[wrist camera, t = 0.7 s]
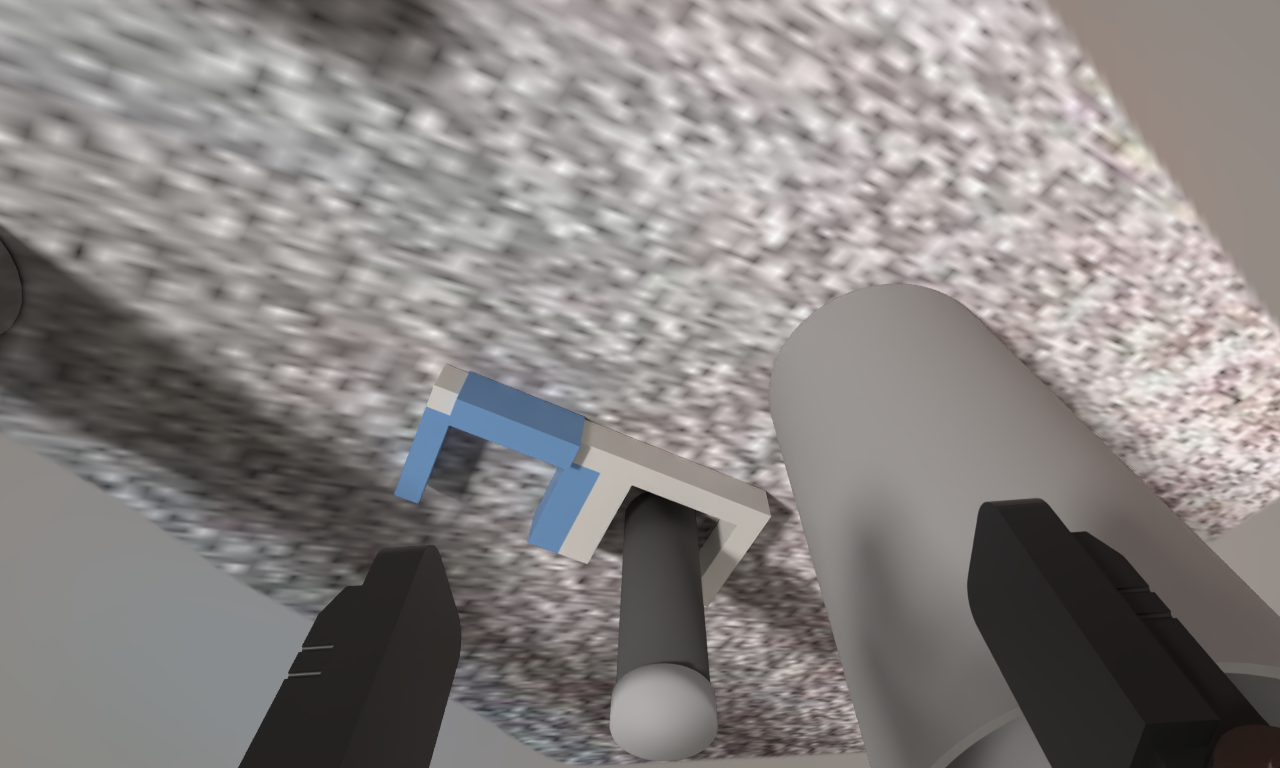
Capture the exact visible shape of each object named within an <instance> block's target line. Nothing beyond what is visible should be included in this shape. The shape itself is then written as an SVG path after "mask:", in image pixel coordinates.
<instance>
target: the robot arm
mask: <svg viewBox="0 0 1280 768" xmlns="http://www.w3.org/2000/svg"><path fill="white" fill-rule="evenodd" d="M21 304H22V286H21V282H20V278H19V274H18V270H17V268H16V266H15V264H14V262H13V260H12V258H11V256H10V254H9V252H8V251H7V249H6V248H5V246H4V245H3V243H2V242H1V240H0V335H1V334H2V333H3V332H5V331H6V330H7V329H9V328H10V327H11V326H12V324H13V323H14V321H15V320H16V318H17V317H18V315H19V311H20V308H21ZM967 594H968V601H969V606H970V610H971V613H972V616H973V619H974V621H975V623H976V626H977V628H978V629H979V631H980V633H981V635H982V637H983V639H984V641H985V643H986V645H987V646H988V648H989V650H990V652H991V654H992V656H993V658H994V660H995V662H996V663H997V665H998V667H999V669H1000V671H1001V673H1002V675H1003V677H1004V679H1005V680H1006V682H1007V684H1008V686H1009V688H1010V690H1011V692H1012V694H1013V696H1014V697H1015V699H1016V701H1017V703H1018V705H1019V707H1020V709H1021V711H1022V713H1023V714H1024V716H1025V718H1026V720H1027V722H1028V724H1029V726H1030V728H1031V730H1032V731H1033V733H1034V735H1035V737H1036V739H1037V741H1038V743H1039V745H1040V747H1041V748H1042V750H1043V752H1044V754H1045V756H1046V758H1047V760H1048V762H1049V764H1050V765H1051V767H1052V768H1280V728H1279V727H1274V726H1270V725H1269V724H1268V723H1267V722H1266V721H1265V720H1264V719H1263V718H1262V717H1261V715H1260V714H1259V713H1258V712H1257V711H1256V710H1255V708H1254V707H1253V706H1252V705H1251V704H1250V703H1249V701H1248V700H1247V699H1246V698H1245V697H1244V696H1243V694H1242V693H1241V692H1240V691H1239V690H1238V689H1237V687H1236V686H1235V685H1234V684H1233V683H1232V682H1231V680H1230V679H1229V678H1228V677H1227V676H1226V675H1225V673H1224V672H1223V671H1222V670H1221V669H1220V668H1219V666H1218V665H1217V664H1216V663H1215V662H1214V661H1213V659H1212V658H1211V657H1210V656H1209V655H1208V654H1207V652H1206V651H1205V650H1204V649H1203V648H1202V647H1201V645H1200V644H1199V643H1198V642H1197V641H1196V640H1195V638H1194V637H1193V636H1192V635H1191V634H1190V633H1189V631H1188V630H1187V629H1186V628H1185V627H1184V626H1183V624H1182V623H1181V622H1180V621H1179V620H1178V619H1177V618H1173V617H1172V615H1171V610H1170V609H1169V608H1168V607H1167V606H1166V605H1165V603H1164V602H1163V601H1162V600H1161V599H1160V598H1159V597H1158V595H1157V594H1156V593H1155V592H1151V591H1150V589H1149V585H1148V584H1147V583H1146V581H1145V580H1144V579H1143V578H1142V577H1141V576H1140V574H1139V573H1138V572H1137V571H1136V570H1135V569H1134V567H1133V566H1132V565H1131V564H1130V563H1129V562H1128V560H1127V559H1126V558H1125V557H1124V556H1123V555H1122V554H1120V553H1119V552H1117V551H1116V550H1114V549H1113V548H1111V547H1109V546H1108V545H1106V544H1105V543H1103V542H1102V541H1100V540H1099V539H1097V538H1096V537H1094V536H1093V535H1091V534H1090V533H1088V532H1087V531H1082V532H1070V531H1069V529H1068V528H1067V527H1066V526H1065V524H1064V523H1063V522H1062V521H1061V519H1060V518H1059V517H1058V516H1057V514H1056V513H1055V512H1054V511H1053V509H1052V508H1051V507H1050V506H1049V504H1048V503H1047V502H1045V501H1044V500H1043V499H1040V498H1029V499H1015V500H1002V501H989V502H984V503H983V504H982V505H981V506H980V508H979V511H978V516H977V522H976V528H975V535H974V541H973V547H972V553H971V559H970V565H969V572H968V578H967ZM460 649H461V626H460V620H459V615H458V612H457V609H456V606H455V602H454V599H453V596H452V592H451V589H450V586H449V583H448V579H447V576H446V573H445V569H444V566H443V563H442V560H441V556H440V554H439V551H438V549H437V548H436V547H435V546H434V545H423V546H410V547H396V548H385V549H382V550H381V551H380V552H379V553H378V554H377V556H376V558H375V560H374V562H373V564H372V566H371V568H370V570H369V572H368V574H367V577H366V579H365V581H364V583H363V585H361V586H347V587H345V588H344V589H343V590H342V591H341V592H340V593H339V594H338V595H337V596H336V597H335V598H334V599H333V600H332V601H331V602H330V603H329V604H328V605H327V606H326V607H325V608H324V610H323V611H322V612H321V613H320V614H319V615H318V616H317V618H316V620H315V622H314V624H313V626H312V628H311V630H310V632H309V634H308V636H307V637H306V639H305V641H304V643H303V645H302V652H299V653H298V655H297V657H296V659H295V660H294V662H293V664H292V666H291V668H290V670H289V672H288V673H289V676H288V679H284V681H283V683H282V686H281V687H280V689H279V691H278V693H277V695H276V697H275V699H274V701H273V702H272V704H271V706H270V708H269V710H268V712H267V714H266V716H265V718H264V719H263V721H262V723H261V725H260V727H259V729H258V731H257V733H256V735H255V737H254V739H253V741H252V742H251V744H250V746H249V748H248V750H247V752H246V754H245V756H244V758H243V760H242V762H241V763H240V765H239V767H238V768H429V766H430V762H431V759H432V755H433V751H434V748H435V744H436V740H437V737H438V733H439V730H440V726H441V722H442V719H443V715H444V712H445V708H446V704H447V701H448V697H449V694H450V690H451V686H452V683H453V679H454V676H455V672H456V668H457V665H458V661H459V656H460Z"/></svg>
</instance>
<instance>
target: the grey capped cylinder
mask: <svg viewBox="0 0 1280 768" xmlns="http://www.w3.org/2000/svg"><path fill="white" fill-rule="evenodd" d="M610 731H611V735H612V737H613V739H614V740H615V742H616V743H617V744H618V745H619V746H620V747H621V748H623V749H624V750H625V751H627V752H629V753H630V754H632V755H635V756H637V757H640V758H644V759H647V760H654V761H675V760H681V759H685V758H688V757H691V756H694V755H696V754H698V753H700V752H701V751H703V750H704V749H706V748H707V747H708V746H709V745H710V744H711V743H712V742H713V740H714V739H715V737H716V734H717V731H718V720H717V708H716V697H715V692H714V689H713V687H712V685H711V683H710V676H709V664H708V652H707V640H706V628H705V616H704V604H703V592H702V580H701V569H700V557H699V545H698V533H697V521H696V512H695V509H693V508H690V507H688V506H685V505H682V504H680V503H677V502H674V501H672V500H669V499H667V498H664V497H661V496H659V495H656V494H654V493H651V492H646V493H643V494H641V495H639V496H638V497H636V498H635V499H634V500H633V501H632V502H631V503H630V504H629V506H628V508H627V510H626V514H625V528H624V547H623V566H622V585H621V604H620V623H619V642H618V661H617V680H616V684H615V686H614V688H613V691H612V696H611V713H610Z"/></svg>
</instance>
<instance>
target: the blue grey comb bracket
mask: <svg viewBox="0 0 1280 768" xmlns="http://www.w3.org/2000/svg"><path fill="white" fill-rule="evenodd" d="M450 426H452V427H455V428H457V429H460V430H462V431H465V432H468V433H470V434H473V435H476V436H478V437H481V438H483V439H486V440H489V441H491V442H494V443H497V444H499V445H502V446H505V447H507V448H510V449H512V450H515V451H518V452H520V453H523V454H526V455H528V456H531V457H533V458H536V459H539V460H541V461H544V462H547V463H549V464H552V465H555V466H557V467H558V468H557V470H556V472H555V474H554V476H553V478H552V480H551V482H550V484H549V486H548V489H547V491H546V493H545V495H544V497H543V499H542V501H541V503H540V505H539V507H538V509H537V511H536V513H535V515H534V517H533V521H532V525H531V530H530V534H529V539H528V543H530V544H533V545H536V546H538V547H541V548H544V549H547V550H550V551H552V552H555V553H558V554H561V555H564V556H567V557H569V558H572V559H575V560H578V561H581V562H583V563H586V564H588V562H589V560H590V558H591V556H592V555H593V553H594V551H595V549H596V548H597V546H598V544H599V542H600V541H601V539H602V537H603V535H604V533H605V532H606V530H607V528H608V526H609V525H610V523H611V521H612V519H613V518H614V516H615V514H616V512H617V511H618V509H619V507H620V505H621V503H622V502H623V500H624V498H625V496H626V495H627V493H628V491H629V489H630V488H631V486H632V485H633V486H635V487H638V488H641V489H643V490H646V491H648V492H651V493H654V494H656V495H659V496H661V497H664V498H667V499H669V500H672V501H674V502H677V503H680V504H682V505H685V506H688V507H690V508H693V509H695V510H698V511H701V512H703V513H706V514H708V515H711V516H714V517H716V518H719V519H720V520H719V522H718V523H717V525H716V526H715V528H714V529H713V531H712V533H711V534H710V536H709V537H708V539H707V540H706V542H705V543H704V545H703V546H702V548H701V549H700V551H699V557H700V569H701V580H702V592H703V604H704V606H707V607H708V606H709V604H710V603H711V601H712V600H713V599H714V597H715V596H716V594H717V593H718V591H719V590H720V589H721V587H722V586H723V584H724V583H725V581H726V580H727V579H728V577H729V576H730V574H731V573H732V571H733V570H734V569H735V567H736V566H737V564H738V563H739V561H740V560H741V559H742V557H743V556H744V554H745V553H746V551H747V550H748V549H749V547H750V546H751V544H752V543H753V542H754V540H755V539H756V537H757V536H758V534H759V533H760V532H761V530H762V529H763V527H764V526H765V524H766V523H767V522H768V520H769V519H770V517H771V513H770V509H769V504H768V500H767V496H766V491H765V490H762V489H759V488H757V487H754V486H752V485H749V484H747V483H744V482H742V481H739V480H737V479H734V478H732V477H729V476H727V475H724V474H722V473H719V472H717V471H714V470H712V469H709V468H707V467H704V466H702V465H699V464H696V463H694V462H691V461H689V460H686V459H684V458H681V457H679V456H676V455H674V454H671V453H669V452H666V451H664V450H661V449H659V448H656V447H654V446H651V445H649V444H646V443H644V442H641V441H638V440H636V439H633V438H631V437H628V436H626V435H623V434H621V433H618V432H616V431H613V430H611V429H608V428H606V427H603V426H601V425H598V424H596V423H593V422H591V421H588V420H586V419H585V417H584V416H581V415H579V414H576V413H574V412H571V411H569V410H566V409H564V408H561V407H559V406H556V405H554V404H551V403H549V402H546V401H544V400H541V399H539V398H536V397H534V396H531V395H528V394H526V393H523V392H521V391H518V390H516V389H513V388H511V387H508V386H506V385H503V384H501V383H498V382H496V381H493V380H491V379H488V378H486V377H483V376H481V375H478V374H476V373H473V372H471V371H470V372H469V373H467V372H465V371H462V370H460V369H457V368H454V367H452V366H449V365H447V364H446V365H445V367H444V368H443V370H442V372H441V374H440V376H439V377H438V379H437V381H436V383H435V384H434V387H433V390H432V392H431V395H430V398H429V400H428V403H427V406H426V409H425V411H424V414H423V417H422V419H421V422H420V425H419V428H418V430H417V433H416V436H415V438H414V441H413V444H412V447H411V449H410V452H409V455H408V457H407V460H406V463H405V466H404V468H403V471H402V474H401V476H400V479H399V482H398V485H397V487H396V490H395V493H394V495H395V496H398V497H401V498H403V499H406V500H409V501H412V502H415V503H417V504H418V503H419V500H420V498H421V496H422V494H423V492H424V490H425V487H426V485H427V483H428V481H429V479H430V476H431V474H432V471H433V469H434V466H435V464H436V461H437V458H438V456H439V453H440V451H441V448H442V446H443V443H444V441H445V438H446V436H447V433H448V431H449V428H450Z"/></svg>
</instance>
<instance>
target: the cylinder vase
mask: <svg viewBox="0 0 1280 768" xmlns="http://www.w3.org/2000/svg"><path fill="white" fill-rule="evenodd" d="M769 406H770V412H771V417H772V420H773V424H774V427H775V431H776V434H777V438H778V441H779V445H780V448H781V452H782V456H783V459H784V463H785V466H786V470H787V473H788V477H789V480H790V484H791V487H792V491H793V494H794V498H795V501H796V505H797V508H798V512H799V515H800V519H801V523H802V526H803V530H804V533H805V537H806V540H807V544H808V547H809V551H810V554H811V558H812V561H813V565H814V568H815V572H816V575H817V579H818V583H819V586H820V590H821V593H822V597H823V600H824V604H825V607H826V611H827V614H828V618H829V621H830V625H831V628H832V632H833V635H834V639H835V642H836V646H837V650H838V653H839V657H840V660H841V664H842V667H843V671H844V674H845V678H846V681H847V685H848V688H849V692H850V695H851V699H852V702H853V706H854V709H855V713H856V717H857V720H858V724H859V727H860V731H861V734H862V738H863V741H864V745H865V748H866V752H867V755H868V759H869V762H870V766H871V768H1052V767H1051V765H1050V764H1049V762H1048V760H1047V758H1046V756H1045V754H1044V752H1043V750H1042V748H1041V747H1040V745H1039V743H1038V741H1037V739H1036V737H1035V735H1034V733H1033V731H1032V730H1031V728H1030V726H1029V724H1028V722H1027V720H1026V718H1025V716H1024V714H1023V713H1022V711H1021V709H1020V707H1019V705H1018V703H1017V701H1016V699H1015V697H1014V696H1013V694H1012V692H1011V690H1010V688H1009V686H1008V684H1007V682H1006V680H1005V679H1004V677H1003V675H1002V673H1001V671H1000V669H999V667H998V665H997V663H996V662H995V660H994V658H993V656H992V654H991V652H990V650H989V648H988V646H987V645H986V643H985V641H984V639H983V637H982V635H981V633H980V631H979V629H978V628H977V626H976V623H975V621H974V619H973V616H972V613H971V610H970V606H969V601H968V594H967V578H968V572H969V565H970V559H971V553H972V547H973V541H974V535H975V528H976V522H977V516H978V511H979V508H980V506H981V505H982V504H983V503H984V502H989V501H1002V500H1015V499H1029V498H1040V499H1043V500H1044V501H1045V502H1047V503H1048V504H1049V506H1050V507H1051V508H1052V509H1053V511H1054V512H1055V513H1056V514H1057V516H1058V517H1059V518H1060V519H1061V521H1062V522H1063V523H1064V524H1065V526H1066V527H1067V528H1068V529H1069V531H1070V532H1082V531H1087V532H1088V533H1090V534H1091V535H1093V536H1094V537H1096V538H1097V539H1099V540H1100V541H1102V542H1103V543H1105V544H1106V545H1108V546H1109V547H1111V548H1113V549H1114V550H1116V551H1117V552H1119V553H1120V554H1122V555H1123V556H1124V557H1125V558H1126V559H1127V560H1128V562H1129V563H1130V564H1131V565H1132V566H1133V567H1134V569H1135V570H1136V571H1137V572H1138V573H1139V574H1140V576H1141V577H1142V578H1143V579H1144V580H1145V581H1146V583H1147V584H1148V585H1149V589H1150V591H1151V592H1155V593H1156V594H1157V595H1158V597H1159V598H1160V599H1161V600H1162V601H1163V602H1164V603H1165V605H1166V606H1167V607H1168V608H1169V609H1170V610H1171V615H1172V617H1173V618H1177V619H1178V620H1179V621H1180V622H1181V623H1182V624H1183V626H1184V627H1185V628H1186V629H1187V630H1188V631H1189V633H1190V634H1191V635H1192V636H1193V637H1194V638H1195V640H1196V641H1197V642H1198V643H1199V644H1200V645H1201V647H1202V648H1203V649H1204V650H1205V651H1206V652H1207V654H1208V655H1209V656H1210V657H1211V658H1212V659H1213V661H1214V662H1215V663H1216V664H1217V665H1218V666H1219V668H1220V669H1221V670H1222V671H1223V672H1224V673H1225V675H1226V676H1227V677H1228V678H1229V679H1230V680H1231V682H1232V683H1233V684H1234V685H1235V686H1236V687H1237V689H1238V690H1239V691H1240V692H1241V693H1242V694H1243V696H1244V697H1245V698H1246V699H1247V700H1248V701H1249V703H1250V704H1251V705H1252V706H1253V707H1254V708H1255V710H1256V711H1257V712H1258V713H1259V714H1260V715H1261V717H1262V718H1263V719H1264V720H1265V721H1266V722H1267V723H1268V724H1269V725H1270V726H1274V727H1279V728H1280V617H1279V616H1278V615H1277V614H1276V613H1275V612H1274V611H1273V610H1272V609H1271V608H1270V607H1269V606H1268V605H1267V604H1266V603H1265V602H1264V601H1263V600H1262V599H1261V598H1260V597H1259V596H1258V595H1257V594H1256V593H1255V592H1254V591H1253V590H1252V589H1251V588H1250V587H1249V586H1248V585H1247V584H1246V583H1245V582H1244V581H1243V580H1242V579H1241V578H1240V577H1239V576H1238V575H1237V574H1236V573H1235V572H1234V571H1233V570H1232V569H1231V568H1230V567H1229V566H1228V565H1227V564H1226V563H1224V561H1223V560H1222V559H1221V558H1220V557H1219V556H1218V555H1216V554H1215V552H1213V550H1211V549H1210V548H1209V547H1208V546H1207V545H1206V544H1205V543H1204V542H1203V541H1202V540H1201V539H1200V538H1199V537H1198V536H1197V535H1196V534H1195V533H1194V532H1193V531H1192V530H1191V529H1190V528H1189V527H1188V526H1187V525H1186V524H1185V523H1184V522H1183V521H1182V520H1181V519H1180V518H1179V517H1178V516H1177V515H1176V514H1175V513H1174V512H1173V511H1172V510H1171V509H1170V508H1169V507H1168V506H1167V505H1166V504H1165V503H1164V502H1163V501H1162V500H1161V499H1160V498H1159V497H1158V496H1157V495H1156V494H1155V493H1154V492H1153V491H1152V490H1151V489H1150V488H1149V487H1148V486H1147V485H1146V484H1145V483H1144V482H1143V481H1142V480H1141V479H1140V478H1139V477H1138V476H1137V475H1136V474H1135V473H1134V472H1133V471H1132V470H1131V469H1130V468H1129V467H1128V466H1127V465H1126V464H1125V463H1124V462H1123V461H1122V460H1121V459H1119V458H1118V457H1117V456H1116V455H1115V454H1114V453H1113V452H1112V451H1111V450H1110V449H1109V448H1108V447H1107V446H1106V445H1105V444H1104V443H1103V442H1102V441H1101V440H1100V439H1099V438H1098V437H1097V436H1096V435H1095V434H1094V433H1093V432H1092V431H1091V430H1090V429H1089V428H1088V427H1087V426H1086V425H1085V424H1084V423H1083V422H1082V421H1081V420H1080V419H1079V418H1078V417H1077V416H1076V415H1075V414H1074V413H1073V412H1072V411H1071V410H1070V409H1069V408H1068V407H1067V406H1066V405H1065V404H1064V403H1063V402H1062V401H1061V400H1060V399H1059V398H1058V397H1057V396H1056V395H1055V394H1054V393H1053V392H1052V391H1051V390H1050V389H1049V388H1048V387H1047V386H1046V385H1045V384H1044V383H1043V382H1042V381H1041V380H1040V379H1039V378H1038V377H1037V376H1036V375H1035V374H1034V373H1033V372H1032V371H1031V370H1030V369H1028V368H1027V367H1026V366H1025V365H1024V364H1023V363H1022V362H1021V361H1020V360H1019V359H1018V358H1017V357H1016V356H1015V355H1014V354H1013V353H1012V352H1011V351H1010V350H1009V349H1008V348H1007V347H1006V346H1005V345H1004V344H1003V343H1002V342H1001V341H1000V340H999V339H998V338H997V337H996V336H995V335H994V334H993V333H992V332H991V331H990V330H989V329H988V328H987V327H986V326H985V325H984V324H983V323H982V322H981V321H980V320H979V319H978V318H977V317H976V316H975V315H974V314H973V313H972V312H971V311H970V310H969V309H968V308H966V307H965V306H964V305H963V304H961V303H960V302H958V301H957V300H955V299H954V298H952V297H950V296H948V295H946V294H944V293H941V292H939V291H936V290H933V289H930V288H926V287H922V286H917V285H909V284H884V285H876V286H871V287H866V288H862V289H859V290H855V291H852V292H850V293H847V294H845V295H842V296H840V297H838V298H836V299H834V300H832V301H830V302H828V303H827V304H825V305H824V306H822V307H820V308H819V309H818V310H816V311H815V312H814V313H812V314H811V315H810V316H809V317H808V318H806V319H805V320H804V321H803V322H802V323H801V324H800V325H799V326H798V327H797V328H796V330H795V331H794V332H793V333H792V334H791V336H790V337H789V338H788V340H787V341H786V343H785V344H784V346H783V348H782V349H781V351H780V353H779V355H778V357H777V360H776V362H775V365H774V368H773V371H772V375H771V379H770V386H769Z"/></svg>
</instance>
